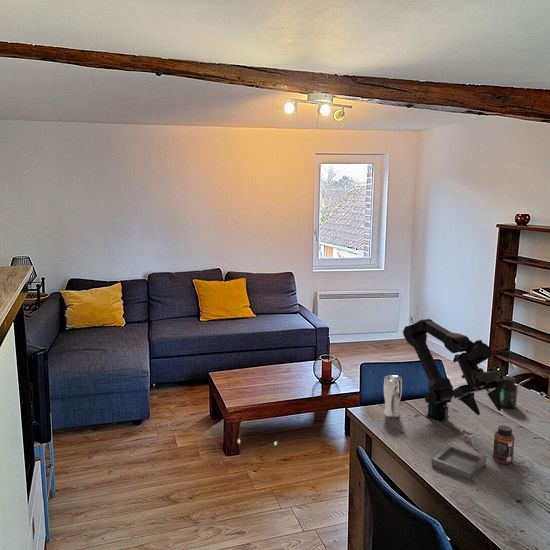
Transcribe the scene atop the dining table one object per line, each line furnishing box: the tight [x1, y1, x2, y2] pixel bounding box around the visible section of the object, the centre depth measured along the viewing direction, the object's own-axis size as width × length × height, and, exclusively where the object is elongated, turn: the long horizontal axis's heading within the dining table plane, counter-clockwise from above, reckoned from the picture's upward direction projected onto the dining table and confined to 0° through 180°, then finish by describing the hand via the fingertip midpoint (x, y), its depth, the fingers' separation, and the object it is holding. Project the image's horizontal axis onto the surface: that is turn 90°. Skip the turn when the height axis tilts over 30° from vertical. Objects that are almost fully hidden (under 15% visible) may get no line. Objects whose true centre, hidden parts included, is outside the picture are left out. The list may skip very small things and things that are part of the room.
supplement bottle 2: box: [492, 424, 515, 465], centre depth 164 cm, size 6×6×11 cm
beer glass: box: [383, 374, 403, 419], centre depth 197 cm, size 7×7×15 cm
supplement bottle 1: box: [500, 375, 519, 410], centre depth 205 cm, size 7×7×12 cm
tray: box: [431, 444, 487, 482], centre depth 161 cm, size 12×12×2 cm
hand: (489, 412), depth 170 cm, fingers open, 9 cm apart
